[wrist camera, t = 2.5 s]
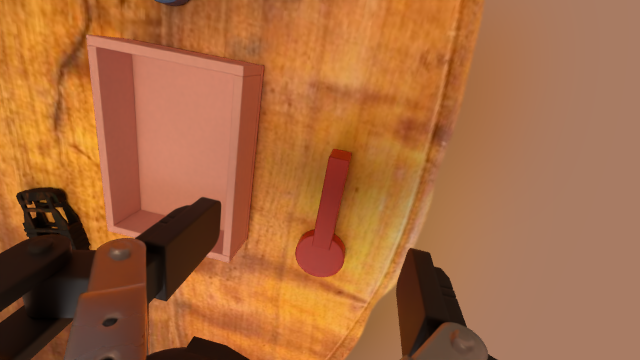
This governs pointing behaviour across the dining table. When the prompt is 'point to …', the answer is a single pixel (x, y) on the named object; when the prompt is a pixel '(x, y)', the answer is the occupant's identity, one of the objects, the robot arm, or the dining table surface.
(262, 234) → the dining table surface
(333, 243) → the red spoon
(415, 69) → the dining table surface
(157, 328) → the dining table surface
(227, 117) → the rose bin
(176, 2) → the blue spoon
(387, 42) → the dining table surface
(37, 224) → the knife
